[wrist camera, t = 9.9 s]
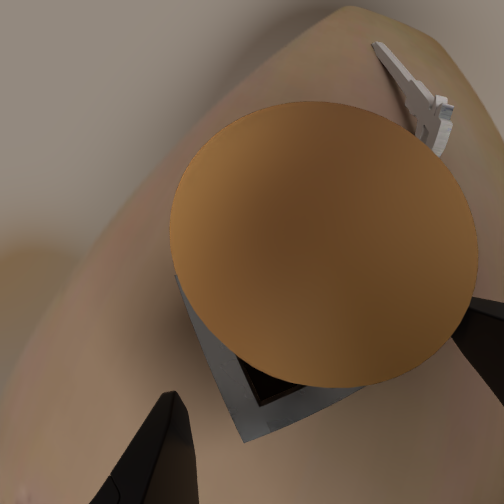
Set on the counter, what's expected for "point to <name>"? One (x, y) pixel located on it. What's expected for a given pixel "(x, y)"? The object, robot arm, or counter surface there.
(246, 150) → the pin
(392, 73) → the caliper
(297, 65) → the counter surface
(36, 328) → the counter surface
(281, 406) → the socket block
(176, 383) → the counter surface
